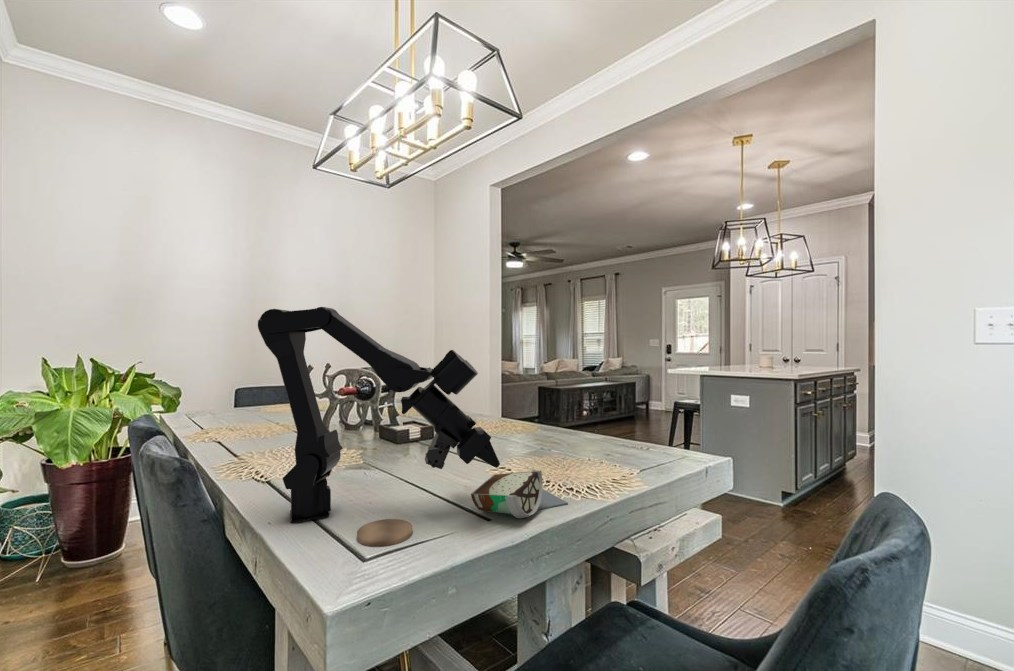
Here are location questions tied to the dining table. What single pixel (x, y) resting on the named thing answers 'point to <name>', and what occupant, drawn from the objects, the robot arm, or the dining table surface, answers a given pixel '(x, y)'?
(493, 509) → the food container
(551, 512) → the dining table surface
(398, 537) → the walnut coaster
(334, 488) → the dining table surface
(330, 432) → the robot arm
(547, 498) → the rubber mat
